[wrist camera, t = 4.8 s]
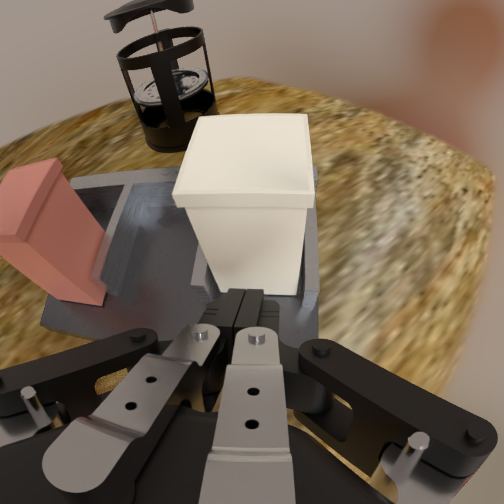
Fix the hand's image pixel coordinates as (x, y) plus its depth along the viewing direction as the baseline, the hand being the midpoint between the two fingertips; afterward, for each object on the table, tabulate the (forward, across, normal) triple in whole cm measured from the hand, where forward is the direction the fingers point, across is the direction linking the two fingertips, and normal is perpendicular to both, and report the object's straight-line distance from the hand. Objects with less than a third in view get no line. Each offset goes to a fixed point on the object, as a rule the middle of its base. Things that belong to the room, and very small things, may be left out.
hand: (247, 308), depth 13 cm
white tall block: (+8, 0, 0) cm, 8 cm away
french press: (+23, +10, -12) cm, 28 cm away
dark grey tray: (+9, +7, +2) cm, 11 cm away
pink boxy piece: (+7, +14, +1) cm, 16 cm away
